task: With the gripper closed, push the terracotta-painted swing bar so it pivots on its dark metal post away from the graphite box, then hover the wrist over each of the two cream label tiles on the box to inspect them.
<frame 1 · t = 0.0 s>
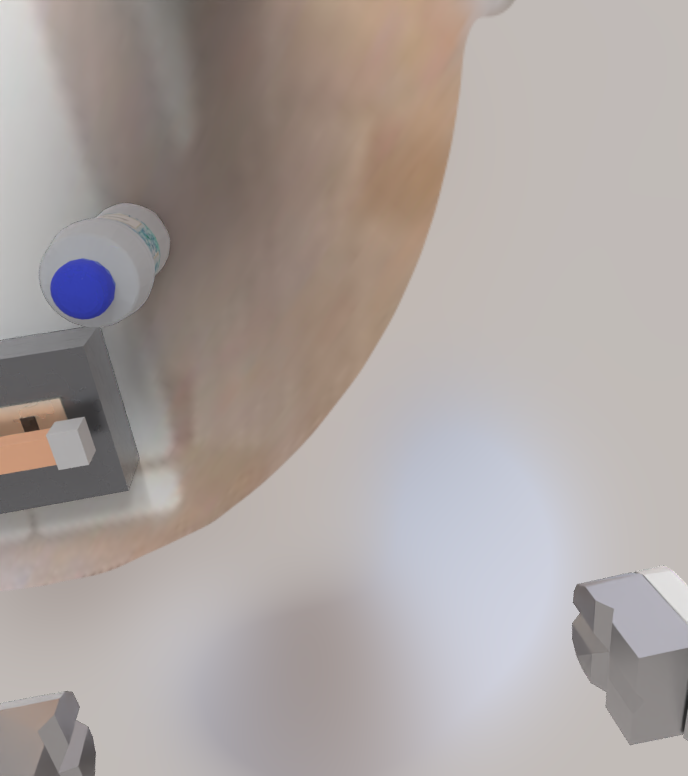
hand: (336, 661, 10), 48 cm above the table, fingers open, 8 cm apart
bottle: (135, 237, 52), on the table
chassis: (12, 412, 57), on the table
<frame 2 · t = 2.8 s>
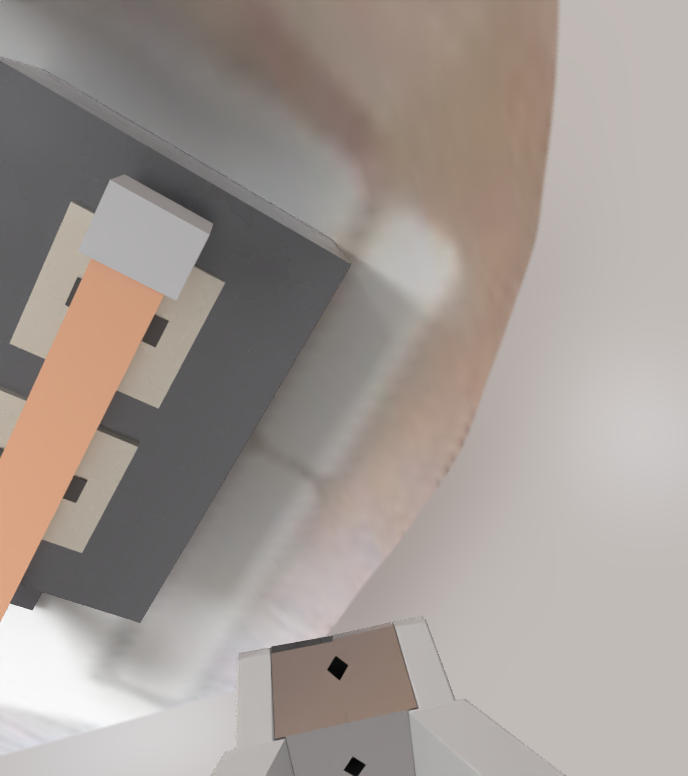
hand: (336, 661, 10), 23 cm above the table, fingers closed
pivot post: (7, 556, 34), on the table
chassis: (109, 346, 30), on the table
swing arm: (23, 500, 23), point 9 cm above the table, hinge at 0.0°
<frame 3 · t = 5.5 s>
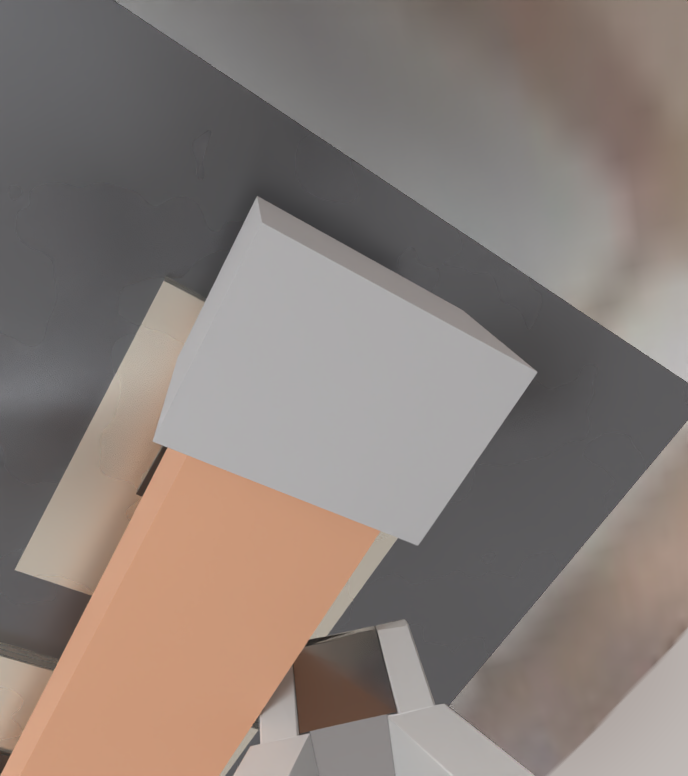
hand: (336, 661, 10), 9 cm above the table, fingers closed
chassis: (180, 487, 18), on the table
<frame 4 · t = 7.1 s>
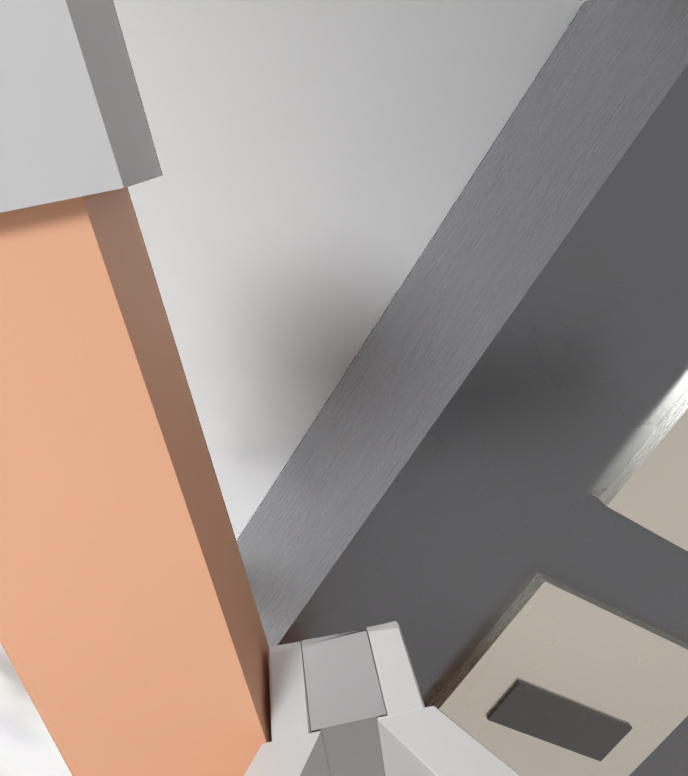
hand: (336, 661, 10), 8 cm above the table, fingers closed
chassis: (544, 458, 19), on the table
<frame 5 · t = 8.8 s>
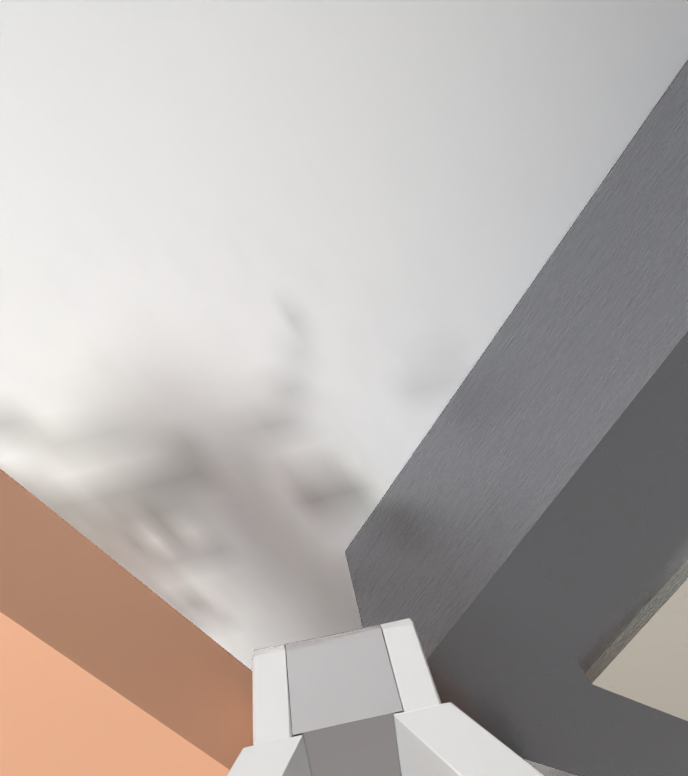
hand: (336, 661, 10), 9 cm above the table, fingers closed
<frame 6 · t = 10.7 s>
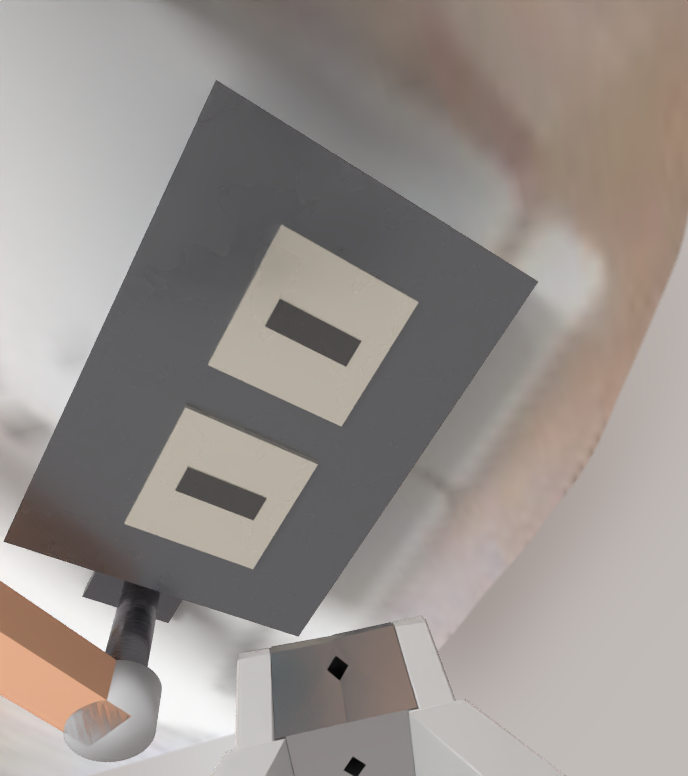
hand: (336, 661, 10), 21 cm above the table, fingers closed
pivot post: (146, 570, 34), on the table
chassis: (261, 362, 30), on the table
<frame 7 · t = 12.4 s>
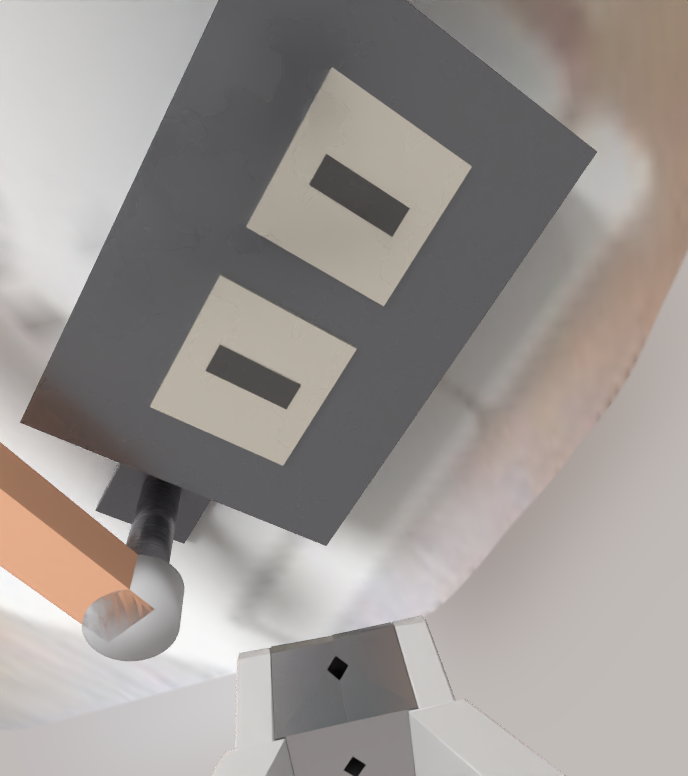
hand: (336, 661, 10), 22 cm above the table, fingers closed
pivot post: (162, 485, 32), on the table
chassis: (292, 258, 29), on the table
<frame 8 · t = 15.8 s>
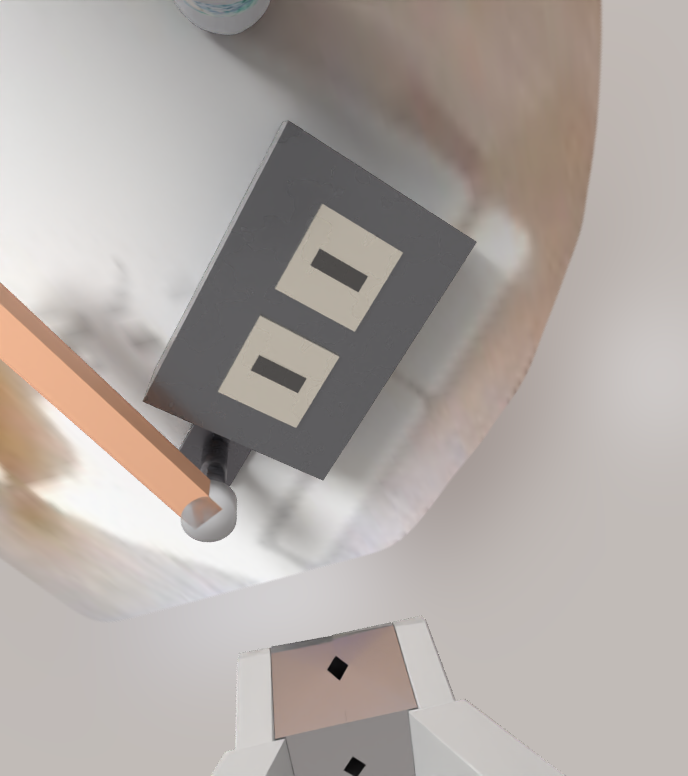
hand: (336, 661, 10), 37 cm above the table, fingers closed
pivot post: (215, 447, 49), on the table
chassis: (300, 299, 45), on the table
swing arm: (90, 402, 37), point 9 cm above the table, hinge at 67.9°
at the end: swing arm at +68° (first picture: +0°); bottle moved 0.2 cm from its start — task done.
